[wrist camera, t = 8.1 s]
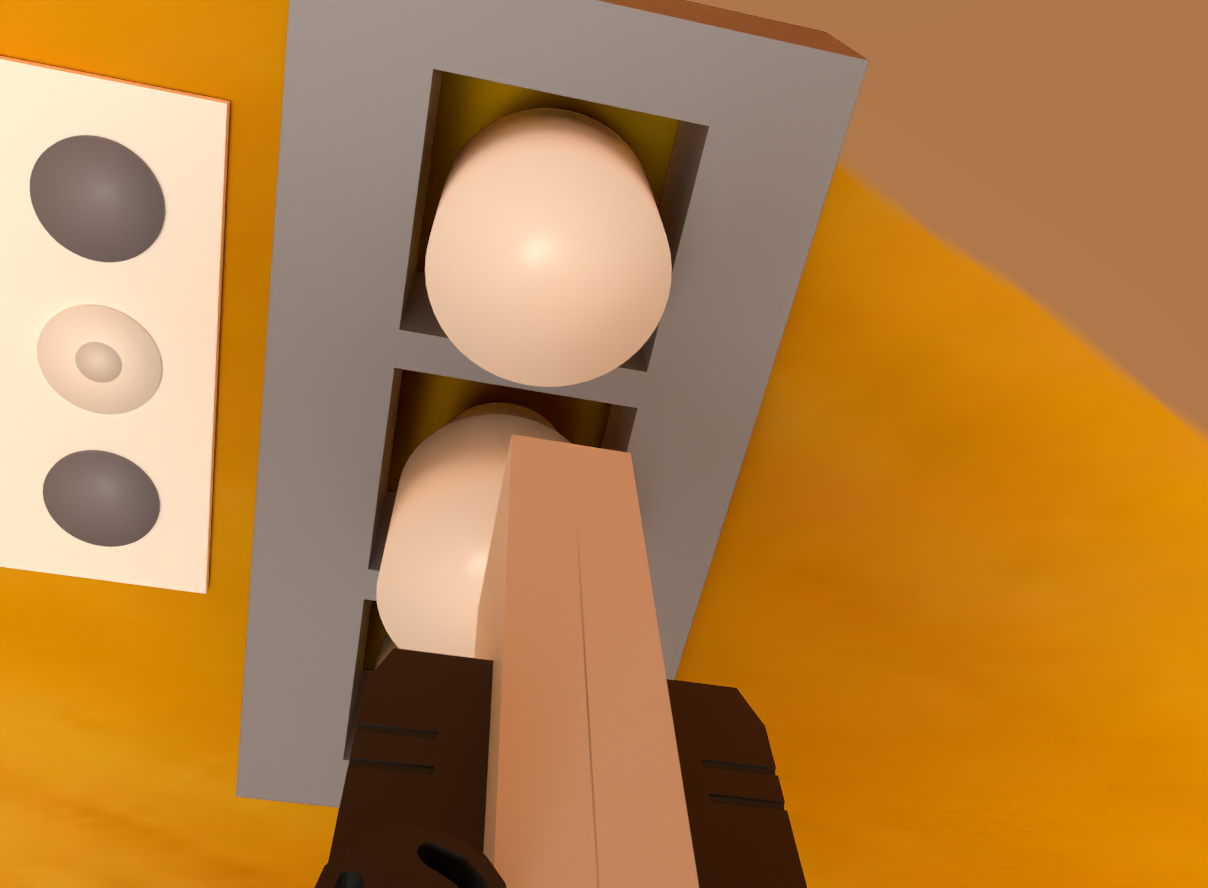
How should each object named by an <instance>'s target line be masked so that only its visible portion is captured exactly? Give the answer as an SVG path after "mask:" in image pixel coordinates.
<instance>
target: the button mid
mask: <svg viewBox="0 0 1208 888" xmlns="http://www.w3.org/2000/svg"><path fill="white" fill-rule="evenodd" d="M512 434H513V435H519V436H526V437H532V438H538V439H545V440H551V441H557V442H564V443H570V442H569V441H568V440H567V439H565V438H564V437H563V436H562V435H560V434H559V433H558V432H557V430H556V429H555V428H554V427H553V426H552V424H551V423H550V422H549V421H547V420H546V419H545V418H544V417H543V416H541V415H540V414H538V413H536V412H535V411H532V410H530V409H528V408H526V407H523V406H520V405H515V404H511V403H487V404H482V405H478V406H474V407H472V408H469V409H467V410H465V411H463V412H461V413H459V414H458V415H457V416H455V417H454V418H453V419H452V420H450V421H449V422H448V423H447V424H446V426H444V427H442V428H440V429H439V430H437V431H435V432H434V433H433V434H431V435H430V436H428V437H427V438H426V439H425V440H424V441H423V442H422V443H421V444H420V445H419V446H418V447H417V448H416V449H415V450H414V452H413V453H412V454H411V455H410V457H409V459H408V461H407V462H406V464H405V466H404V468H403V471H402V473H401V476H400V480H399V485H398V490H397V494H396V499H395V503H394V508H393V512H392V517H391V521H390V526H389V531H388V535H387V540H386V544H385V549H384V553H383V558H382V562H381V567H380V572H379V576H378V581H377V591H376V598H377V606H378V611H379V614H380V618H381V620H382V623H383V625H384V627H385V629H386V631H387V633H388V634H389V636H390V637H391V639H392V640H393V642H394V643H395V644H396V645H397V646H398V647H399V649H406V650H414V651H422V652H430V653H438V654H446V655H453V656H461V657H469V658H474V653H475V640H476V627H477V614H478V606H479V601H480V596H481V591H482V586H483V581H484V575H485V570H486V565H487V560H488V555H489V550H490V544H491V539H492V534H493V529H494V524H495V518H496V513H497V508H498V503H499V498H500V493H501V487H502V482H503V477H504V472H505V467H506V462H507V456H508V451H509V446H510V441H511V436H512ZM570 444H571V443H570Z"/></svg>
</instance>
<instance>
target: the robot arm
mask: <svg viewBox="0 0 1208 888" xmlns="http://www.w3.org/2000/svg"><path fill="white" fill-rule="evenodd" d="M775 768H776V767H775V763H774V759H773V755H772V752H771V748H770V744H769V740H768V736H767V732H766V729H765V726H764V724H763V723H762V722H761V720H760V719H759V718H758V716H757V715H756V714H755V712H754V711H753V710H752V708H751V707H750V706H749V704H748V703H747V702H746V700H745V699H744V698H743V696H742V695H741V694H740V692H739V691H738V689H737V688H732V687H724V686H716V685H708V684H700V683H692V682H685V681H677V680H669V679H666V674H665V667H664V661H663V654H662V648H661V642H660V635H659V629H658V623H657V616H656V610H655V604H654V597H653V591H652V584H651V578H650V572H649V565H648V559H647V553H646V546H645V540H644V534H643V527H642V521H641V514H640V508H639V502H638V495H637V489H636V483H635V476H634V470H633V464H632V457H631V453H627V452H621V451H614V450H608V449H602V448H595V447H589V446H583V445H576V444H570V443H564V442H557V441H551V440H545V439H538V438H532V437H526V436H519V435H513V434H512V436H511V441H510V446H509V451H508V456H507V462H506V467H505V472H504V477H503V482H502V487H501V493H500V498H499V503H498V508H497V513H496V518H495V524H494V529H493V534H492V539H491V544H490V550H489V555H488V560H487V565H486V570H485V575H484V581H483V586H482V591H481V596H480V601H479V606H478V614H477V627H476V640H475V653H474V658H469V657H461V656H453V655H446V654H438V653H430V652H422V651H414V650H406V649H398V648H393V649H392V651H391V652H390V653H389V654H388V655H387V656H386V658H385V659H384V660H383V661H382V662H381V663H380V665H379V666H378V667H377V668H376V669H375V670H374V671H373V673H372V674H371V675H370V676H369V677H368V678H367V680H366V681H365V685H364V690H363V695H362V700H361V705H360V710H359V715H358V719H357V725H356V731H355V734H354V739H353V744H352V749H351V754H350V759H349V765H348V768H347V773H346V778H345V783H344V788H343V793H342V798H341V803H340V808H339V812H338V817H337V822H336V827H335V832H334V837H333V842H332V847H331V852H330V856H329V861H328V864H326V865H325V866H324V868H323V871H322V873H321V875H320V877H319V879H318V882H317V884H316V886H315V888H807V886H806V882H805V878H804V874H803V870H802V867H801V863H800V859H799V855H798V851H797V847H796V844H795V840H794V836H793V832H792V828H791V824H790V821H789V817H788V813H787V811H785V810H784V802H785V801H784V798H783V794H782V790H781V786H780V782H779V778H778V776H776V775H775Z"/></svg>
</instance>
